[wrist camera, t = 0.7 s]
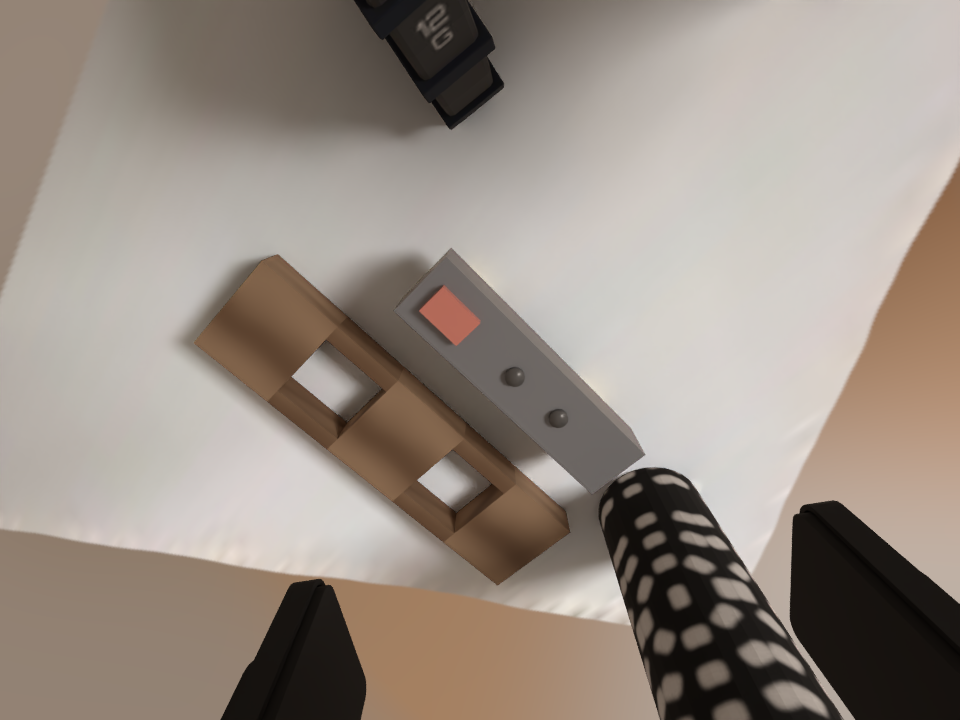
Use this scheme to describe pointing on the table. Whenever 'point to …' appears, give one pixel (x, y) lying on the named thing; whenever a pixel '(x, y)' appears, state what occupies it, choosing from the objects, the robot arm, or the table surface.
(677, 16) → the table surface
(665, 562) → the spotted tube
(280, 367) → the rail
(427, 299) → the grey control box
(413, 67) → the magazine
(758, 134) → the table surface
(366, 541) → the table surface
